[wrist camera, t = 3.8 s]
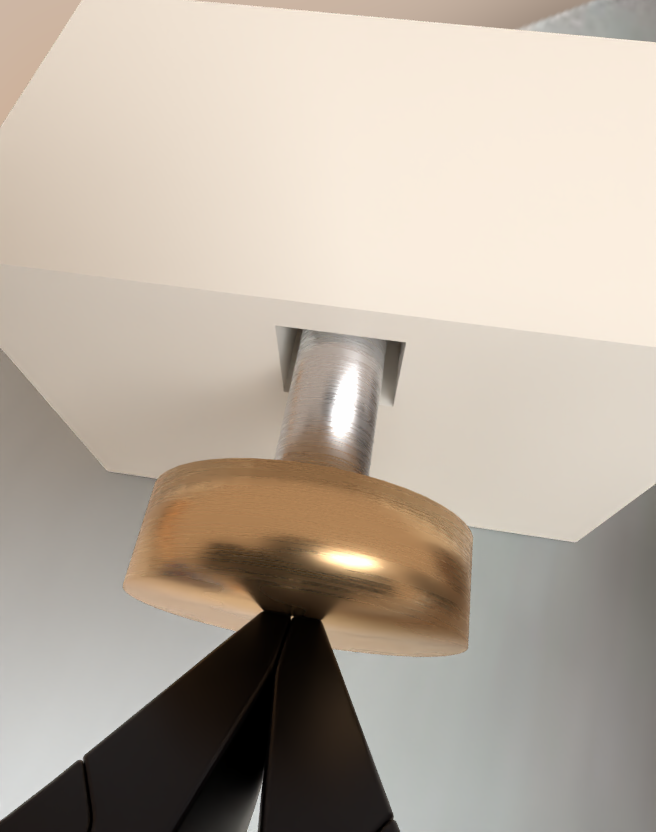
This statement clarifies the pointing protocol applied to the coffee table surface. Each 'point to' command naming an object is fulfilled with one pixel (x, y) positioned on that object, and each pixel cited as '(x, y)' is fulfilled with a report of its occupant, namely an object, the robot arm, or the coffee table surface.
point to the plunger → (311, 526)
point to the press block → (343, 245)
